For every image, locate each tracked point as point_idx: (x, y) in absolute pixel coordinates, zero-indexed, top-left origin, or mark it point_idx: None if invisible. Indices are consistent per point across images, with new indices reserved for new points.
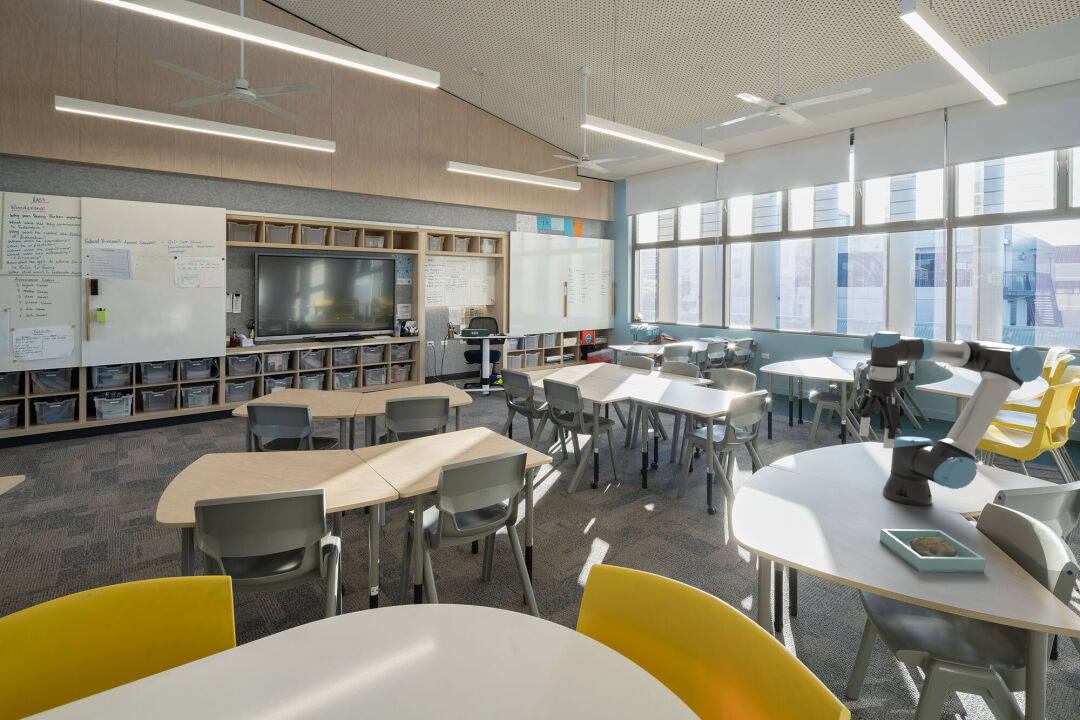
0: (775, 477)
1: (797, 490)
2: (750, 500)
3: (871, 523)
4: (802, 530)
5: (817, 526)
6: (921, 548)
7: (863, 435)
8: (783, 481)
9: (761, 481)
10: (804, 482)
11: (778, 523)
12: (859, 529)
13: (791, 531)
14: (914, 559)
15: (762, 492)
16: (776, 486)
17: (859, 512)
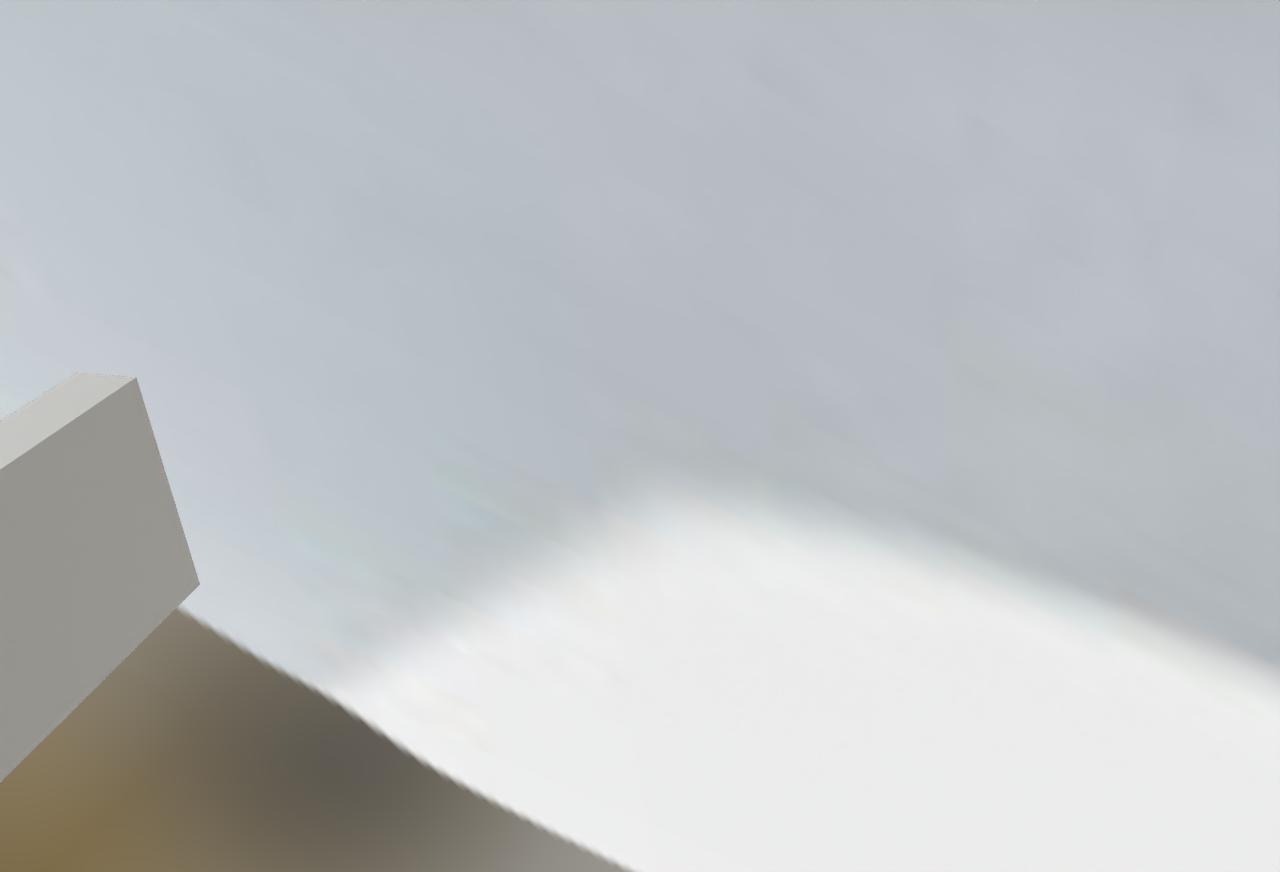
0: None
1: (297, 376)
2: (584, 802)
3: (1067, 75)
4: (1150, 758)
5: (1087, 618)
6: None
7: (161, 520)
8: None
9: None
10: (71, 210)
11: (1004, 838)
12: (1201, 295)
13: (1158, 832)
14: None
15: (410, 659)
16: (251, 501)
17: (770, 45)
